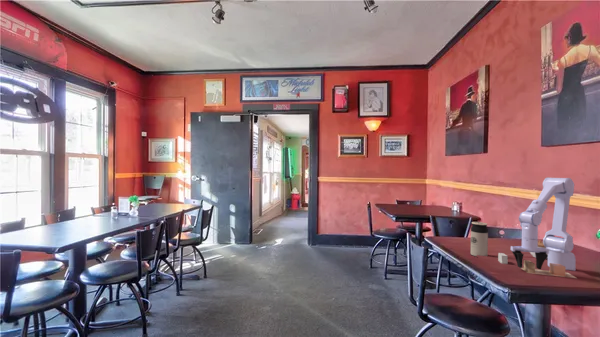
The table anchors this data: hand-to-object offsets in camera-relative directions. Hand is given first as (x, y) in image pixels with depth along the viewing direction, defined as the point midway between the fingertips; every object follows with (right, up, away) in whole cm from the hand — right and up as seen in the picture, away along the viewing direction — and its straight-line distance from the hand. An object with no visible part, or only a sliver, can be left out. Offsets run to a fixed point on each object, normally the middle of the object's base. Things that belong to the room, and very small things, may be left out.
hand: (529, 267), depth 131 cm
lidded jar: (+27, -4, +27) cm, 39 cm away
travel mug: (-6, -3, +27) cm, 28 cm away
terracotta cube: (+10, -2, -3) cm, 11 cm away
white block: (+3, -3, +10) cm, 11 cm away
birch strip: (+7, -3, -2) cm, 7 cm away
